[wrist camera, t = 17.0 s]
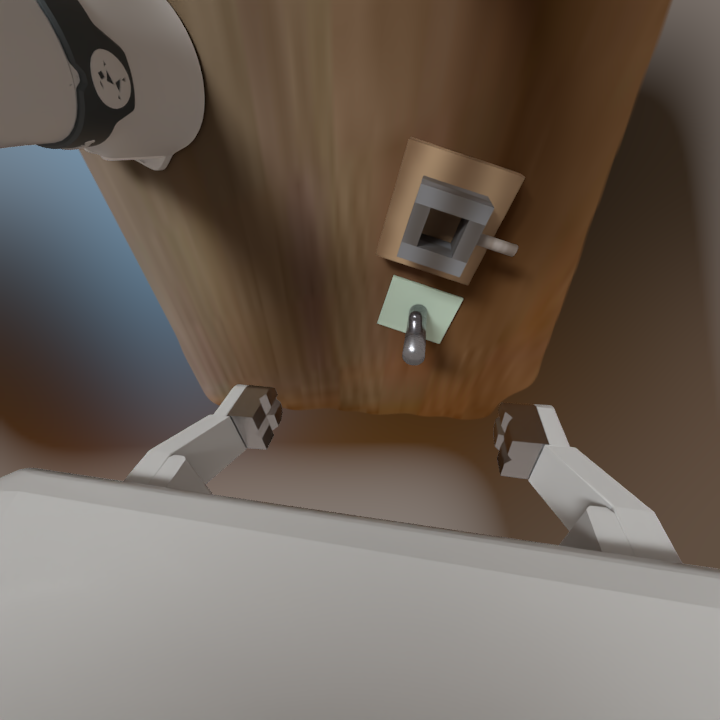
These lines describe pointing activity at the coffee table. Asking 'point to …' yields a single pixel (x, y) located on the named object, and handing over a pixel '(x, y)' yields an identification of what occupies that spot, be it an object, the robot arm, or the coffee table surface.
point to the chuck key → (415, 335)
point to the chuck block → (447, 211)
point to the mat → (412, 293)
